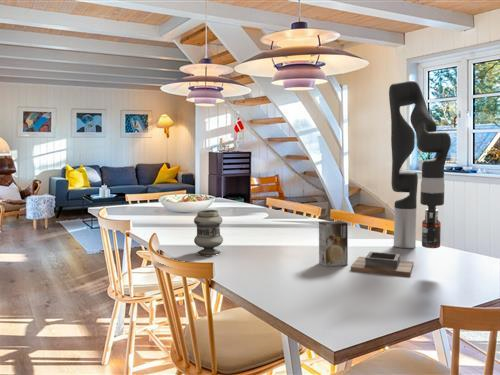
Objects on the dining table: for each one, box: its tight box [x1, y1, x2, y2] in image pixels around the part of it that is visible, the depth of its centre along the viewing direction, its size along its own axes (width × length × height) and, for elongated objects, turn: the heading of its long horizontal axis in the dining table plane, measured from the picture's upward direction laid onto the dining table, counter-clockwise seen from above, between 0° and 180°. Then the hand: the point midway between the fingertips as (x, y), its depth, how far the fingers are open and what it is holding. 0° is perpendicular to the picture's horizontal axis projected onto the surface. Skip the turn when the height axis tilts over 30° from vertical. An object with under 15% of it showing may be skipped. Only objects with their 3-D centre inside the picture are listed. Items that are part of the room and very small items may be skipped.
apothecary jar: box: [193, 209, 224, 256], centre depth 191 cm, size 12×12×18 cm
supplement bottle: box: [421, 214, 442, 249], centre depth 157 cm, size 6×6×11 cm
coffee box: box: [318, 220, 349, 268], centre depth 172 cm, size 9×6×16 cm
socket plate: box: [350, 251, 414, 277], centre depth 166 cm, size 16×20×4 cm
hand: (431, 239), depth 157 cm, fingers closed on supplement bottle, 6 cm apart
